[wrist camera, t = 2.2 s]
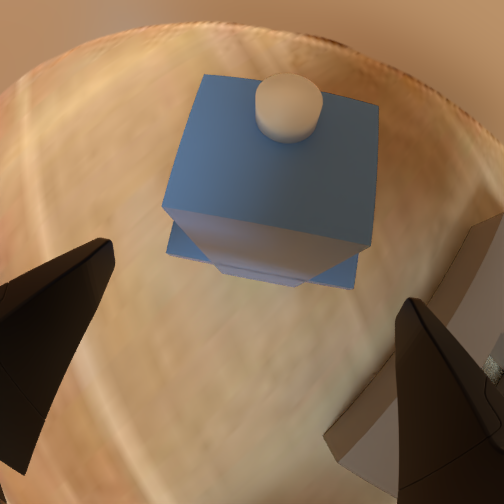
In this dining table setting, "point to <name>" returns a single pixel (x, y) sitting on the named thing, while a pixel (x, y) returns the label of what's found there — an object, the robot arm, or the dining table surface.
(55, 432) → the dining table surface
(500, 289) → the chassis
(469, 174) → the dining table surface
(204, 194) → the servo
